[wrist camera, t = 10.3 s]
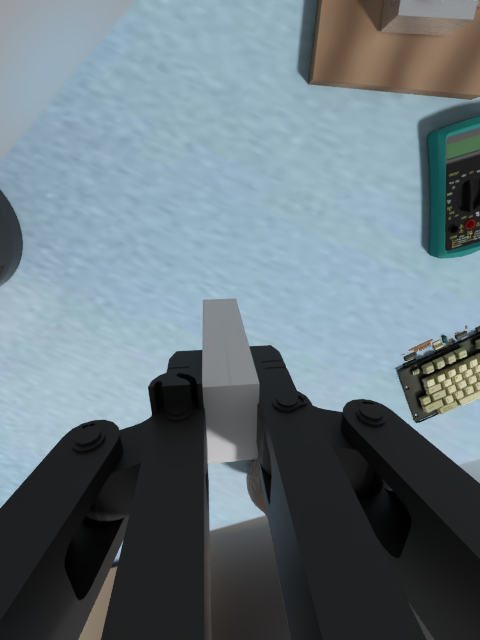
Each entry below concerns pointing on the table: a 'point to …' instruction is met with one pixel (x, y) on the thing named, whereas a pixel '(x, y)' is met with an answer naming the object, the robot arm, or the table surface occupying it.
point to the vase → (255, 485)
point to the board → (391, 54)
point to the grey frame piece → (427, 16)
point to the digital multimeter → (455, 189)
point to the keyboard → (442, 376)
